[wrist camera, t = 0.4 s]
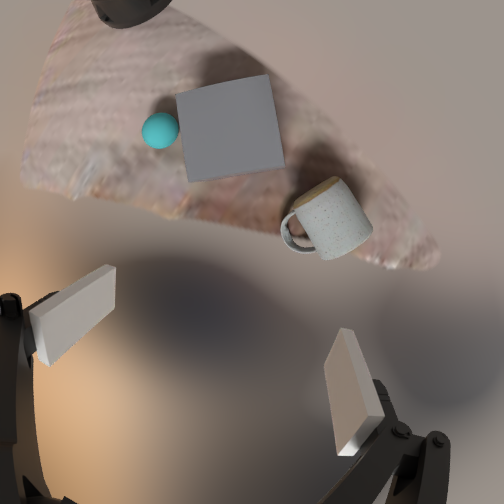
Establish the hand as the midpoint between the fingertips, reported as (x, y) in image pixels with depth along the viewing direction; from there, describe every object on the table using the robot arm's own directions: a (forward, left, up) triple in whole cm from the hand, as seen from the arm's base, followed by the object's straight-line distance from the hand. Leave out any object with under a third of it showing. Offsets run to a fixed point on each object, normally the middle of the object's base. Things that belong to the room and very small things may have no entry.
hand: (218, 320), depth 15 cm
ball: (-16, -10, -22) cm, 29 cm away
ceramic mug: (-1, +9, -25) cm, 26 cm away
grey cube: (-13, 0, -25) cm, 28 cm away
